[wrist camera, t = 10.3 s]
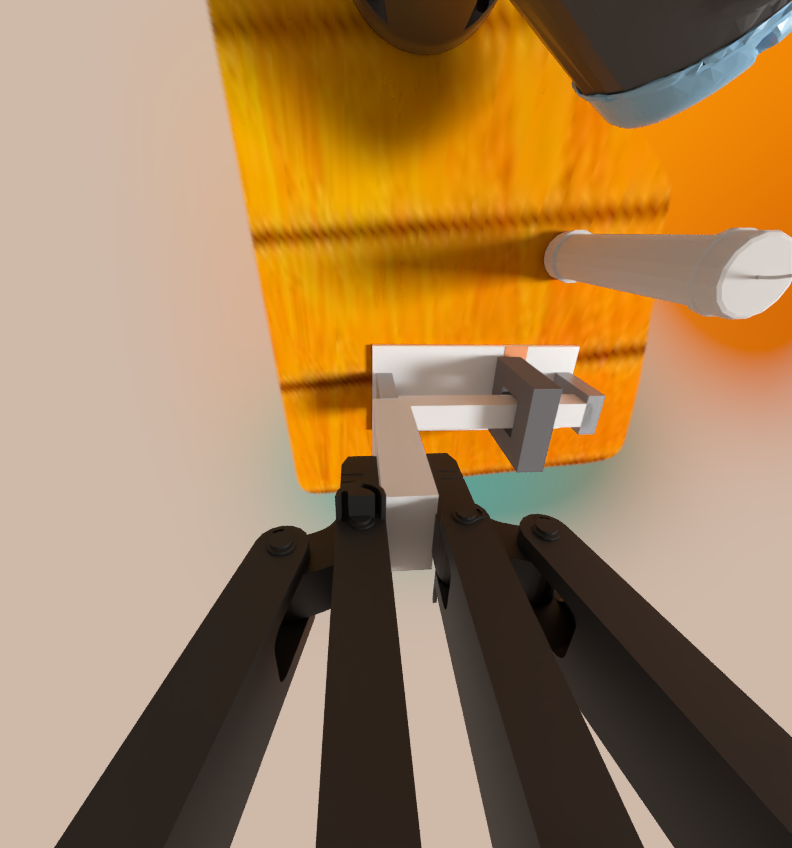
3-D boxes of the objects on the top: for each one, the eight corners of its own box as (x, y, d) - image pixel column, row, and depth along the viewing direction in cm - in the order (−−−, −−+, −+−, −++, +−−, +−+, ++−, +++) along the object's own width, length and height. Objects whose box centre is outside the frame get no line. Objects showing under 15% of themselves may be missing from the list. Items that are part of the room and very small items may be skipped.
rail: (372, 344, 47) (375, 367, 39) (576, 345, 50) (619, 366, 42) (372, 429, 53) (375, 464, 45) (556, 425, 55) (590, 459, 47)
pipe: (551, 290, 46) (817, 367, 20) (531, 243, 44) (806, 259, 17) (593, 262, 45) (932, 305, 19) (575, 212, 43) (939, 180, 16)
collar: (497, 356, 47) (534, 389, 38) (520, 356, 48) (562, 388, 38) (486, 427, 52) (516, 472, 42) (507, 426, 52) (542, 471, 42)
